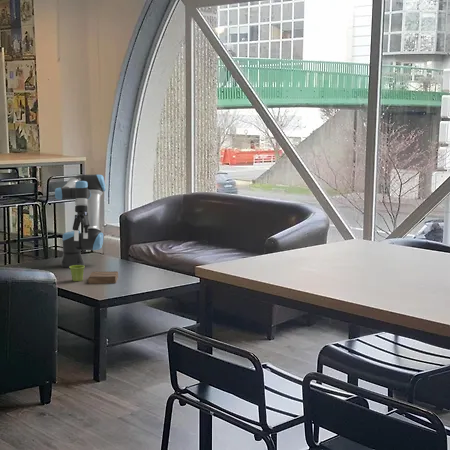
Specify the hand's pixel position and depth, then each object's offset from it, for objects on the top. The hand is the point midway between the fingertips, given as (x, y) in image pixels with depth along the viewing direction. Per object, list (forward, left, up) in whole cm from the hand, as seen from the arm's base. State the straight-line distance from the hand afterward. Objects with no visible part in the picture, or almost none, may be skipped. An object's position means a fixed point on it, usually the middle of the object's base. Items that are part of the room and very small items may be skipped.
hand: (80, 239), depth 436 cm
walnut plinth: (+12, +15, -24) cm, 30 cm away
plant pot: (+10, -1, -24) cm, 26 cm away
